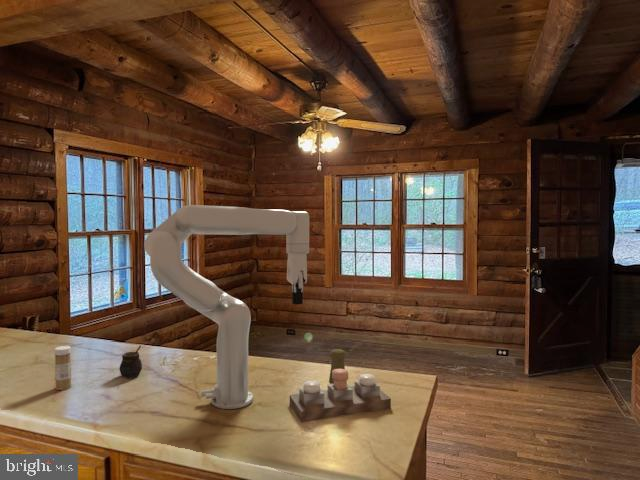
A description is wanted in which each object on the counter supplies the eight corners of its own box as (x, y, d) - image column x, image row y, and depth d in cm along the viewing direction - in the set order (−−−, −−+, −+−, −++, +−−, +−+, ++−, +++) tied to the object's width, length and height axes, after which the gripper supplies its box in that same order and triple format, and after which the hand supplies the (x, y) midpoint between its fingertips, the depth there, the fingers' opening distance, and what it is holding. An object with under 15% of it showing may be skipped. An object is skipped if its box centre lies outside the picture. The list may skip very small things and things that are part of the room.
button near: (306, 404, 123) (306, 387, 123) (301, 397, 127) (301, 381, 127) (322, 402, 124) (322, 385, 124) (316, 395, 129) (316, 379, 129)
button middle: (335, 391, 126) (335, 375, 125) (329, 385, 130) (329, 369, 130) (350, 389, 127) (350, 373, 127) (344, 383, 132) (344, 368, 132)
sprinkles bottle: (72, 384, 143) (71, 344, 143) (69, 389, 139) (69, 348, 138) (56, 386, 142) (56, 346, 141) (53, 391, 137) (52, 350, 137)
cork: (345, 385, 146) (345, 353, 145) (327, 383, 147) (327, 351, 146) (347, 378, 152) (347, 347, 151) (330, 377, 153) (331, 346, 152)
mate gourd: (114, 377, 150) (114, 349, 149) (131, 370, 157) (131, 343, 156) (130, 381, 147) (130, 352, 146) (146, 373, 154) (146, 346, 153)
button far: (363, 396, 129) (363, 380, 129) (356, 390, 133) (356, 374, 133) (377, 394, 131) (377, 378, 130) (370, 388, 135) (370, 373, 135)
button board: (301, 422, 119) (301, 401, 118) (289, 404, 130) (289, 385, 130) (390, 408, 128) (391, 388, 128) (372, 392, 139) (372, 374, 139)
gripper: (282, 247, 147) (281, 300, 148) (291, 250, 133) (291, 309, 134) (303, 247, 150) (302, 299, 151) (314, 250, 135) (314, 308, 136)
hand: (297, 303), depth 142 cm, fingers closed
